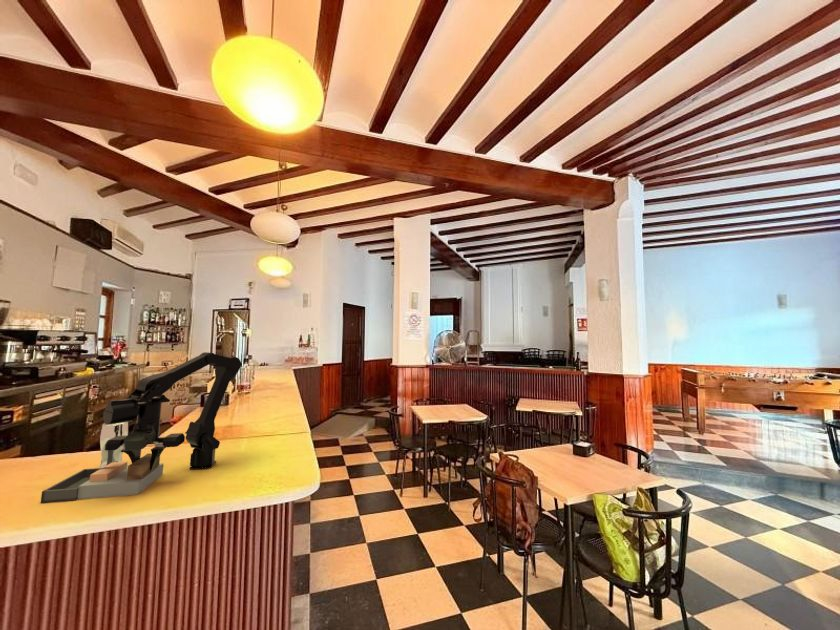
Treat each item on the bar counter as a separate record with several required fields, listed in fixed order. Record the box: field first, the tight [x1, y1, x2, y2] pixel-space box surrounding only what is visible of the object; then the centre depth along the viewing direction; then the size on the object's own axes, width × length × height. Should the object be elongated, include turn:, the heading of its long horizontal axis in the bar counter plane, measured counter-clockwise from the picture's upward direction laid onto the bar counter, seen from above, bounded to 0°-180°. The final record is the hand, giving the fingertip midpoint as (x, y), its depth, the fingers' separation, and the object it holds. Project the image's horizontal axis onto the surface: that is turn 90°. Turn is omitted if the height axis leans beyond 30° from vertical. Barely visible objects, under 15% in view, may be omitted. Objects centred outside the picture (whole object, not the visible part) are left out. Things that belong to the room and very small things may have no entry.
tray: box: [40, 467, 104, 504], centre depth 98 cm, size 8×16×3 cm, turn 16°
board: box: [77, 462, 164, 500], centre depth 100 cm, size 14×15×4 cm
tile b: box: [90, 469, 116, 482], centre depth 97 cm, size 4×4×2 cm
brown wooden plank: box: [127, 452, 161, 480], centre depth 102 cm, size 4×11×4 cm, turn 16°
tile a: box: [104, 461, 128, 473], centre depth 103 cm, size 4×4×2 cm
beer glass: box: [98, 422, 129, 468], centre depth 114 cm, size 7×7×15 cm
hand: (144, 470), depth 102 cm, fingers closed on brown wooden plank, 3 cm apart
